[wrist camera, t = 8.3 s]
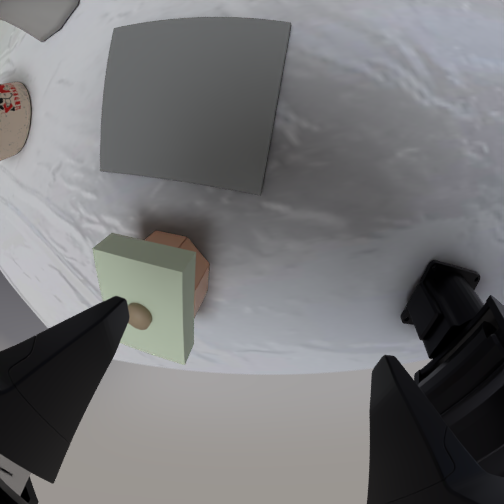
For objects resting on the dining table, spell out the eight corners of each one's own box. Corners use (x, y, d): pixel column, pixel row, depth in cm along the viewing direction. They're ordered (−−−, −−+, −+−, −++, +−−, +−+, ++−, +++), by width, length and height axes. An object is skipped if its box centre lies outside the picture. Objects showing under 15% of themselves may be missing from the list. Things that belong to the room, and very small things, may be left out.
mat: (291, 25, 12) (290, 22, 12) (261, 192, 18) (260, 195, 18) (118, 29, 13) (113, 28, 13) (104, 169, 19) (100, 171, 19)
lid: (196, 252, 17) (178, 278, 15) (193, 343, 22) (182, 370, 19) (111, 232, 18) (87, 252, 15) (126, 322, 22) (110, 345, 19)
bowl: (211, 242, 21) (196, 266, 18) (206, 307, 24) (194, 335, 21) (135, 225, 21) (111, 245, 18) (140, 289, 25) (122, 312, 21)
